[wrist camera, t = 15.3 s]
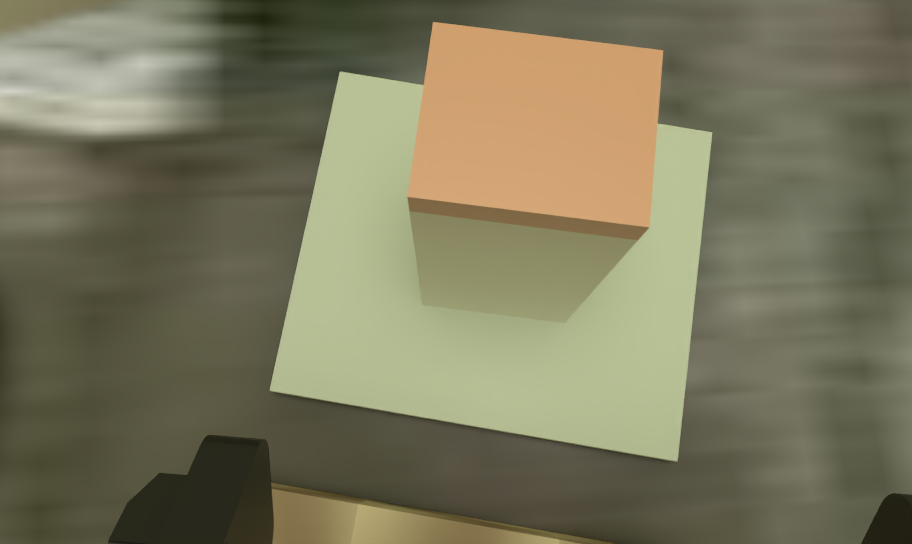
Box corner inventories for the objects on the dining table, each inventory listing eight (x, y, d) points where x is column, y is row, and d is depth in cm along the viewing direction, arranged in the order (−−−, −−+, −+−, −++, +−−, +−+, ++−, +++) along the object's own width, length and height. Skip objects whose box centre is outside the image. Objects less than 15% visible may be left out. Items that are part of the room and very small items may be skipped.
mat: (274, 392, 28) (269, 390, 28) (342, 81, 31) (340, 71, 30) (671, 461, 28) (677, 461, 27) (705, 140, 31) (712, 132, 30)
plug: (422, 304, 28) (407, 196, 17) (437, 196, 29) (433, 22, 18) (564, 323, 28) (649, 227, 17) (575, 214, 29) (663, 50, 17)
